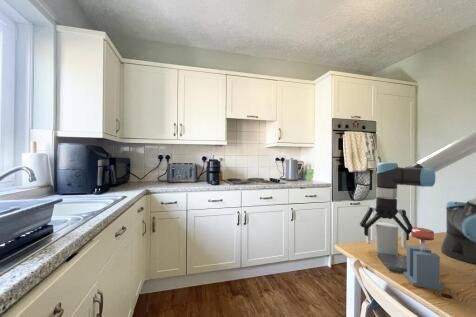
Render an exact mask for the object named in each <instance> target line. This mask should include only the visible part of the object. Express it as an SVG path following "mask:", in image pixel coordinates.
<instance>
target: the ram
mask: <svg viewBox="0 0 476 317" xmlns="http://www.w3.org/2000/svg"><path fill="white" fill-rule="evenodd" d="M434 233H435V232H434V230H431V229H428V228H424V227H413V228H412V232H411V236H412V237H413V238H415V239H418V240H419V247H420V252H425V247H426V241H434V240H435V238H434V236H435V234H434Z"/></svg>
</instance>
